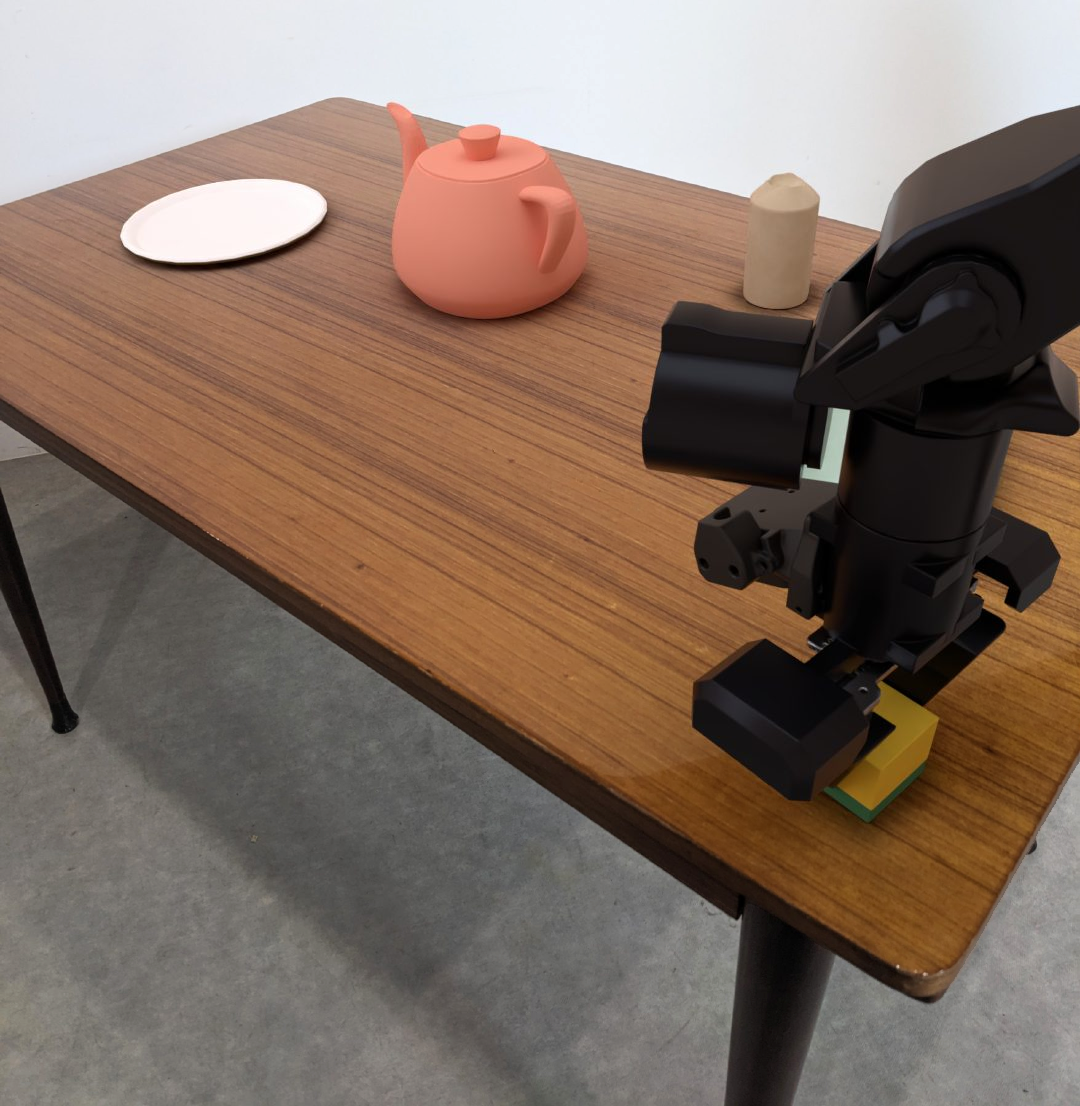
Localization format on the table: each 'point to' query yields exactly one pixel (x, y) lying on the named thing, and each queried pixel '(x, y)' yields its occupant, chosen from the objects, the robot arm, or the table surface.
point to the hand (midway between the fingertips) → (856, 753)
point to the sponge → (889, 757)
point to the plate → (224, 221)
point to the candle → (780, 242)
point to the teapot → (484, 223)
